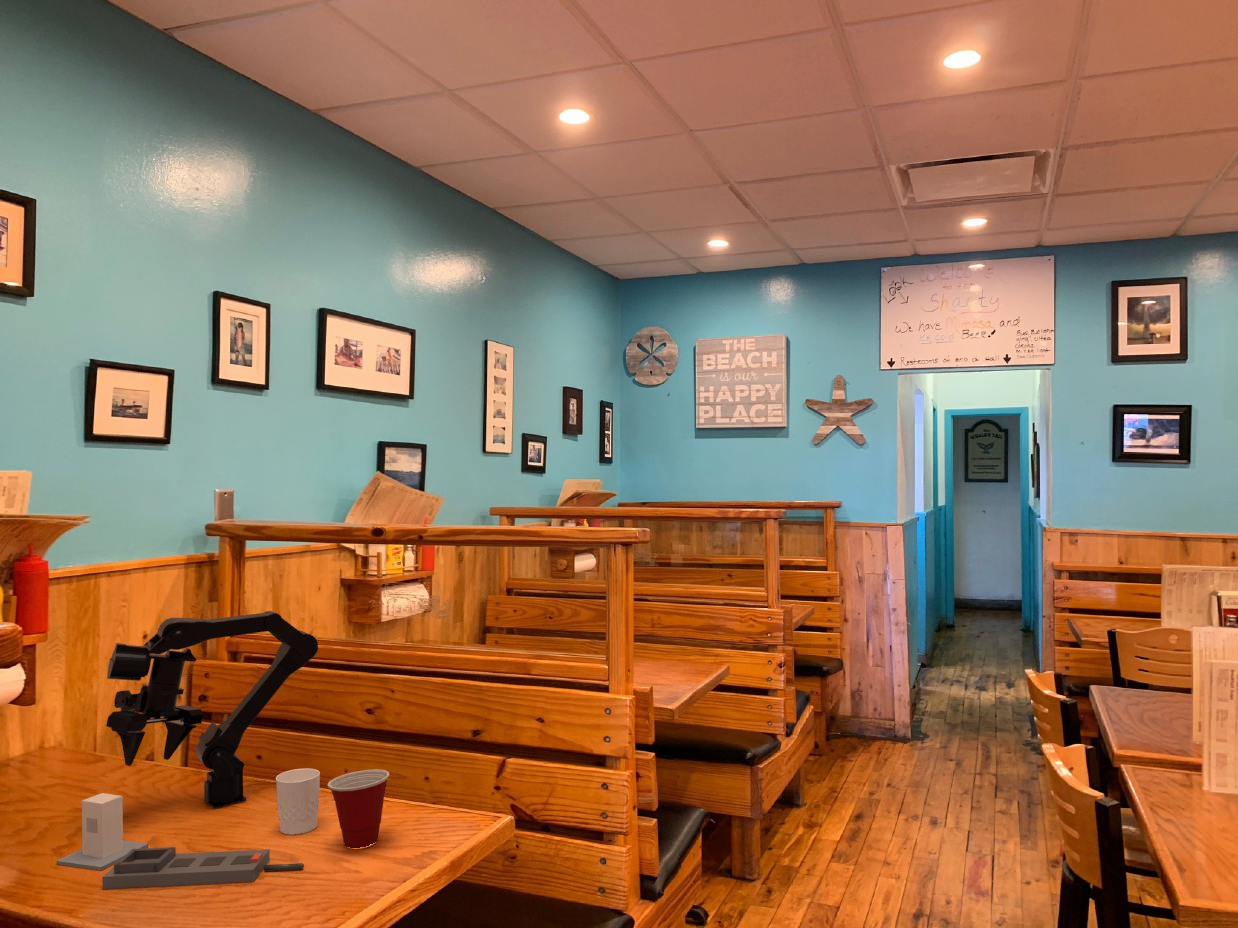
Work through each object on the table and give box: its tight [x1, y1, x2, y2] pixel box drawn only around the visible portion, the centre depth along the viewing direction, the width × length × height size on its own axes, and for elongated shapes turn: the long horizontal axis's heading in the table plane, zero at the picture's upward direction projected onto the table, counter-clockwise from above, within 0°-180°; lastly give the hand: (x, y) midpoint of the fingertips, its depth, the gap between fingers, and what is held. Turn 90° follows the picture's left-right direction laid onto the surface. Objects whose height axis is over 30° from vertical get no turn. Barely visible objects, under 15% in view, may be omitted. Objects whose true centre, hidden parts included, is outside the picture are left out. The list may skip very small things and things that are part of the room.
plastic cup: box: [327, 768, 390, 848], centre depth 162 cm, size 11×11×12 cm
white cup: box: [275, 767, 321, 836], centre depth 169 cm, size 8×8×10 cm
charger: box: [81, 792, 124, 859], centre depth 159 cm, size 4×5×10 cm
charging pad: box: [55, 840, 149, 871], centre depth 159 cm, size 10×10×1 cm
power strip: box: [101, 846, 305, 890], centre depth 150 cm, size 31×8×4 cm, turn 93°
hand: (147, 762), depth 176 cm, fingers open, 9 cm apart
